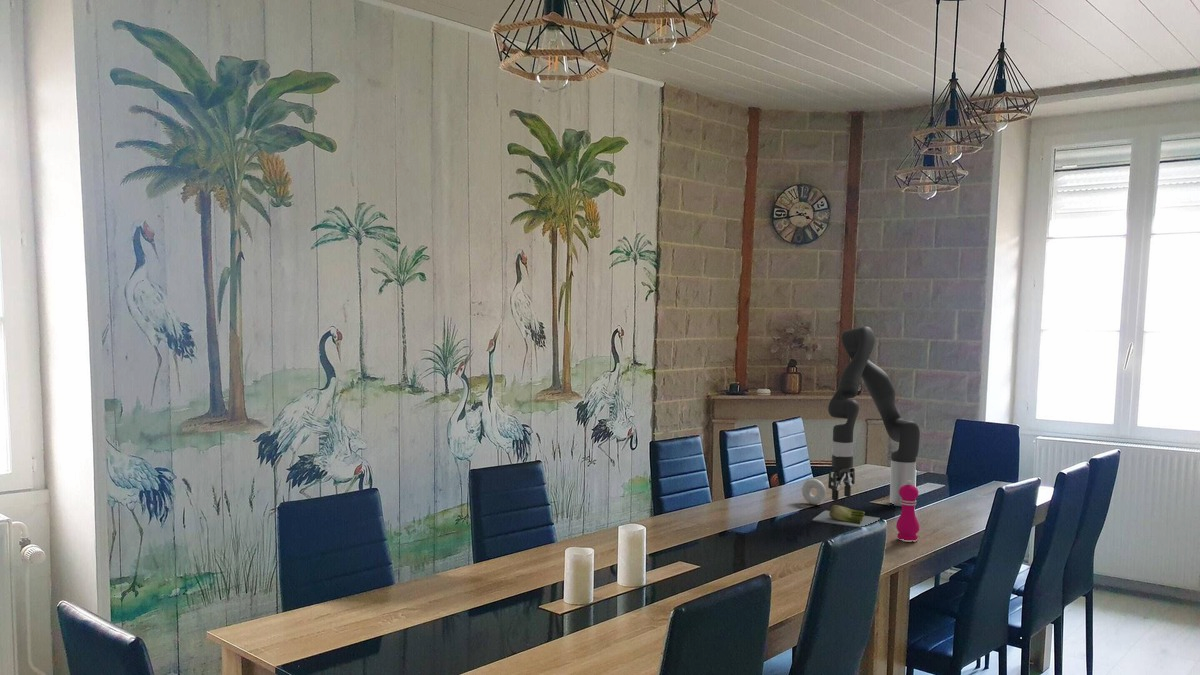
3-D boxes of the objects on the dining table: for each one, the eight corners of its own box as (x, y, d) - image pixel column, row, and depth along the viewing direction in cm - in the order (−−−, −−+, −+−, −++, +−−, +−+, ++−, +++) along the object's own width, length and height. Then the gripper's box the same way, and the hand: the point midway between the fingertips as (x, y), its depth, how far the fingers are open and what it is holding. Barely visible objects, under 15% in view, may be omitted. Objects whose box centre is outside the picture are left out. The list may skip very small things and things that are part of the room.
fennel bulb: (827, 519, 302) (861, 526, 296) (827, 506, 302) (861, 513, 295) (832, 514, 307) (865, 521, 301) (832, 501, 306) (866, 508, 300)
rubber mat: (825, 511, 316) (825, 510, 316) (879, 519, 305) (879, 517, 305) (812, 520, 302) (812, 519, 302) (869, 529, 292) (869, 527, 292)
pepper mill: (919, 538, 280) (921, 479, 279) (918, 544, 274) (920, 483, 273) (896, 536, 283) (898, 477, 282) (894, 541, 277) (896, 481, 276)
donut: (827, 505, 325) (828, 480, 324) (823, 507, 322) (823, 481, 322) (804, 501, 332) (805, 476, 331) (800, 502, 329) (800, 477, 329)
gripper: (843, 450, 311) (842, 493, 312) (822, 454, 301) (821, 499, 302) (861, 453, 306) (860, 497, 307) (841, 457, 296) (840, 503, 297)
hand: (841, 498), depth 304 cm, fingers open, 8 cm apart
